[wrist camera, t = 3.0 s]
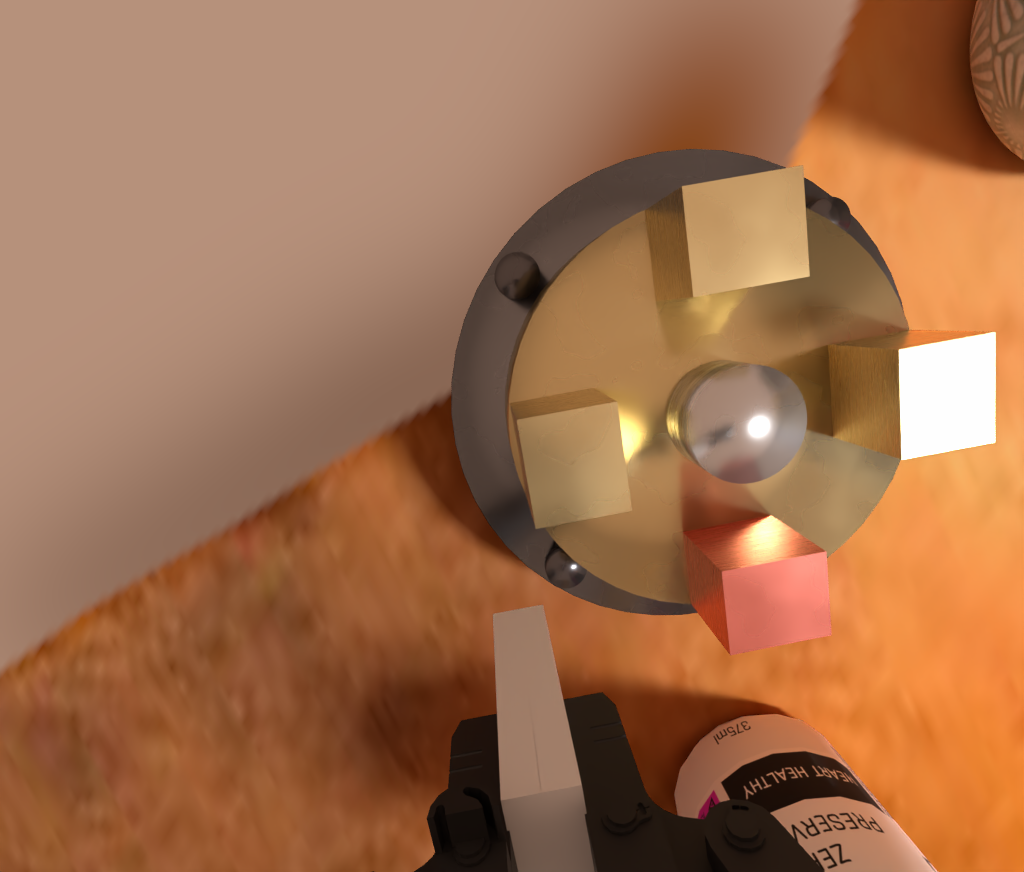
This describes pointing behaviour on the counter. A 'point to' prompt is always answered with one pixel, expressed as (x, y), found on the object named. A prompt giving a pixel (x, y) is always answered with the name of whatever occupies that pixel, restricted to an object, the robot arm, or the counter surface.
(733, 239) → the brass disc with cubes
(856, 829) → the supplement can
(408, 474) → the counter surface
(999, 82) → the planter
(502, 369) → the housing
